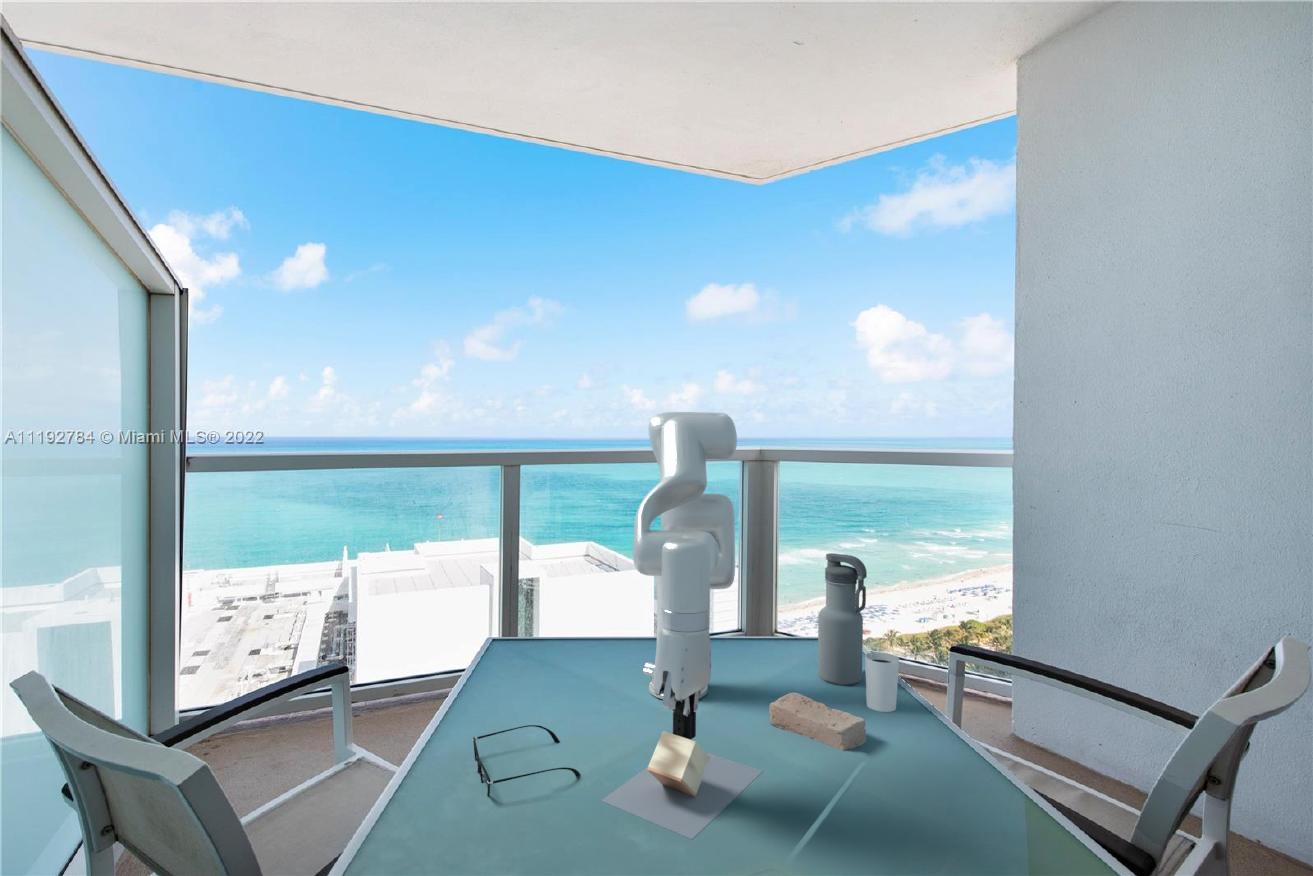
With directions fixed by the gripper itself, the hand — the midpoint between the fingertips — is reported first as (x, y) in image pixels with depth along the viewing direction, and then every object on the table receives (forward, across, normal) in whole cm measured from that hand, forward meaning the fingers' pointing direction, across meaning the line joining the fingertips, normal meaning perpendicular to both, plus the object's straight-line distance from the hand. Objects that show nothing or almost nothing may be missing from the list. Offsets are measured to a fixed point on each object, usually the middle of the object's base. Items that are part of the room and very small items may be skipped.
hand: (684, 736), depth 102 cm
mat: (+8, 0, 0) cm, 8 cm away
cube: (+2, -1, 0) cm, 2 cm away
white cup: (+9, -50, +16) cm, 54 cm away
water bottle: (+9, -60, +4) cm, 61 cm away
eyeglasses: (+9, +9, -25) cm, 28 cm away
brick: (+9, -32, +10) cm, 34 cm away
